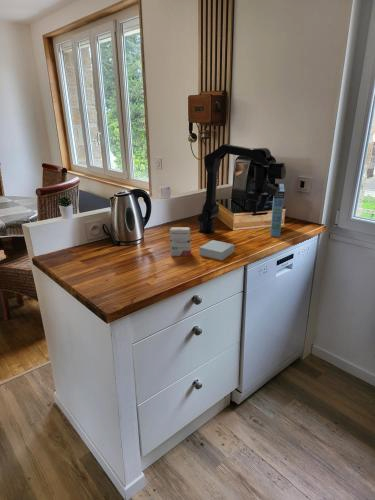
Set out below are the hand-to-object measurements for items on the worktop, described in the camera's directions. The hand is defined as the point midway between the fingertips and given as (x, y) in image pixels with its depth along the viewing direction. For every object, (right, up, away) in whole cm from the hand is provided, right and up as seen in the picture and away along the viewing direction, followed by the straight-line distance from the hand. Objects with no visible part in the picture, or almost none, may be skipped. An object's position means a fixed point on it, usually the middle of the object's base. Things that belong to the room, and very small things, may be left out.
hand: (258, 211), depth 157 cm
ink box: (-36, -20, -9) cm, 42 cm away
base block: (-20, -20, -8) cm, 30 cm away
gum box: (+13, -8, +20) cm, 25 cm away
